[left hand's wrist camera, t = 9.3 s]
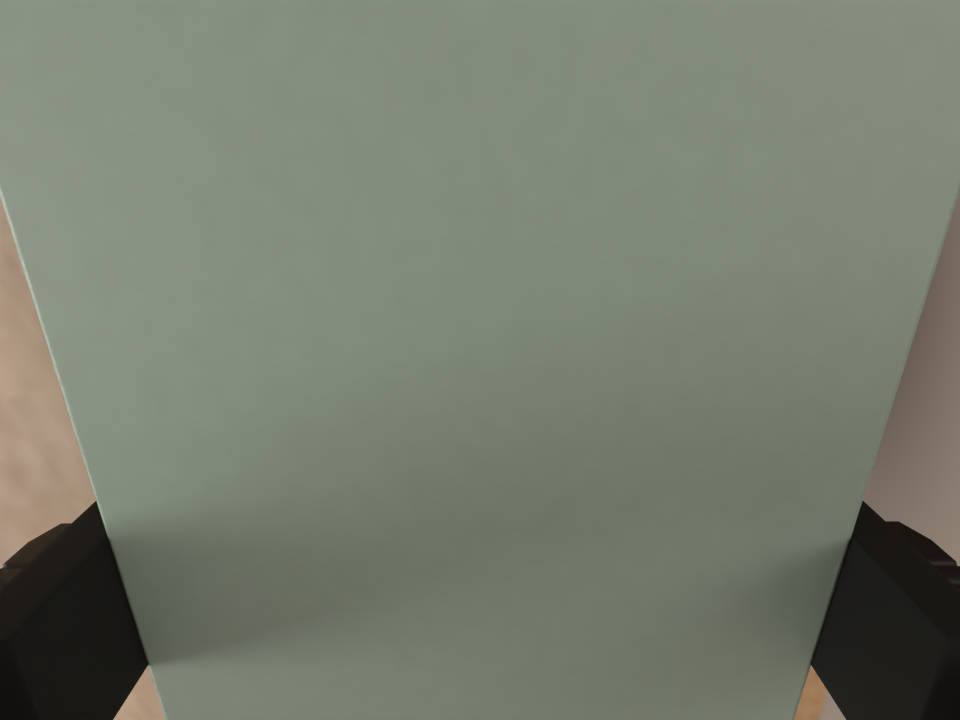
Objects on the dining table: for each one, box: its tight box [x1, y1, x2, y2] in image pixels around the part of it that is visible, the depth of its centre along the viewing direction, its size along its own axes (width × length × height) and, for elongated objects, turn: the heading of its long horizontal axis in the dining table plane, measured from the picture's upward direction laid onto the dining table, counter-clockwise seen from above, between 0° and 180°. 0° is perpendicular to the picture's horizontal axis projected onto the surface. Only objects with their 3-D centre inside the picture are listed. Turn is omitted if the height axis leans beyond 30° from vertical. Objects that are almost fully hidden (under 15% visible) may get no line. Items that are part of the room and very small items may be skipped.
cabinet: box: [0, 0, 960, 720], centre depth 10 cm, size 19×11×8 cm, turn 0°
